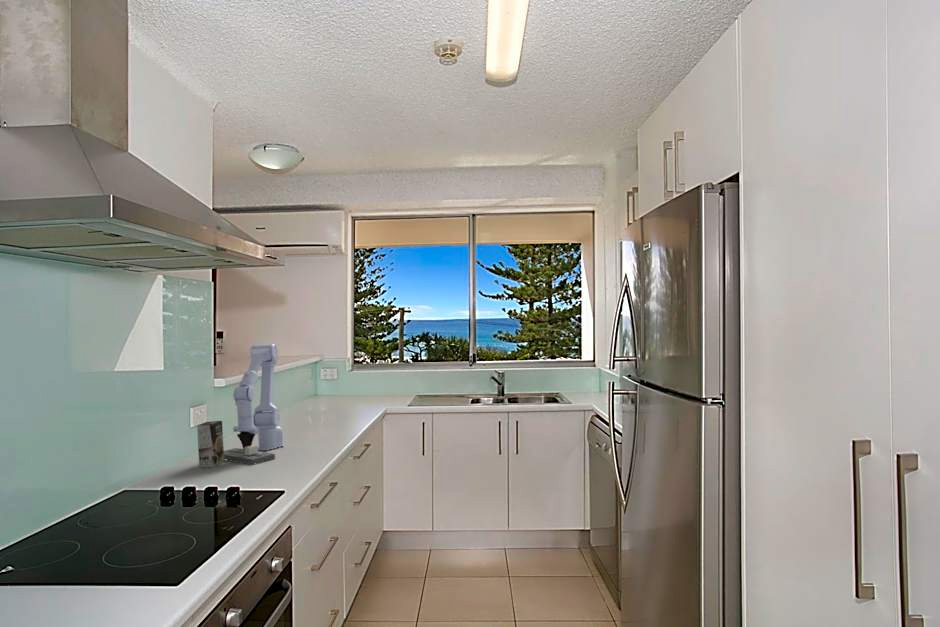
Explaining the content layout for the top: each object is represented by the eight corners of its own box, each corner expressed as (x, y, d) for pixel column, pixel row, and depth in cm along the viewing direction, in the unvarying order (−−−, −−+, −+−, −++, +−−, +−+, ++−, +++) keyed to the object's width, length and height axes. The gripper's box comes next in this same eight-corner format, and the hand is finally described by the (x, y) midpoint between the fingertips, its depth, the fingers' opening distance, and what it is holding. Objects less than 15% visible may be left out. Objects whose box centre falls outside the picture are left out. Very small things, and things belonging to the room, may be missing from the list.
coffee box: (215, 467, 245) (213, 424, 245) (198, 468, 245) (196, 425, 245) (225, 461, 254) (222, 420, 254) (208, 462, 254) (206, 421, 254)
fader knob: (253, 452, 257) (253, 444, 257) (258, 453, 255) (258, 445, 255) (244, 454, 254) (244, 446, 253) (249, 455, 252) (248, 447, 252)
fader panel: (236, 452, 269) (236, 447, 269) (274, 458, 254) (274, 453, 254) (214, 457, 261) (214, 452, 261) (252, 464, 246) (252, 459, 246)
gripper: (225, 417, 257) (227, 451, 257) (247, 419, 248) (249, 454, 248) (241, 414, 263) (243, 447, 263) (263, 416, 254) (265, 451, 254)
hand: (247, 450), depth 256 cm, fingers closed
